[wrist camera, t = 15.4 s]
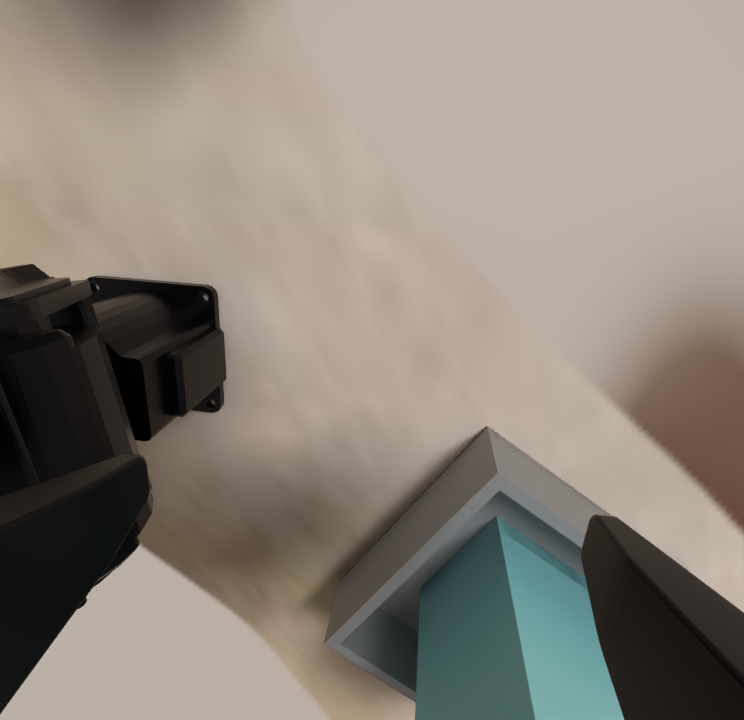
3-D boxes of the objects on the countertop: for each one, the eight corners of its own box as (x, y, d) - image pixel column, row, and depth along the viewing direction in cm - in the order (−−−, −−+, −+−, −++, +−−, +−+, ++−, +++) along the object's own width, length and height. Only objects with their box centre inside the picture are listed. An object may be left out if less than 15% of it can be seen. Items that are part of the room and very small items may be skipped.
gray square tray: (339, 582, 27) (323, 644, 23) (487, 426, 22) (497, 472, 19) (514, 696, 28) (526, 772, 25) (688, 571, 24) (735, 641, 20)
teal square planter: (420, 588, 26) (408, 893, 14) (496, 515, 23) (552, 811, 12) (510, 647, 26) (565, 985, 15) (592, 582, 24) (730, 922, 13)
